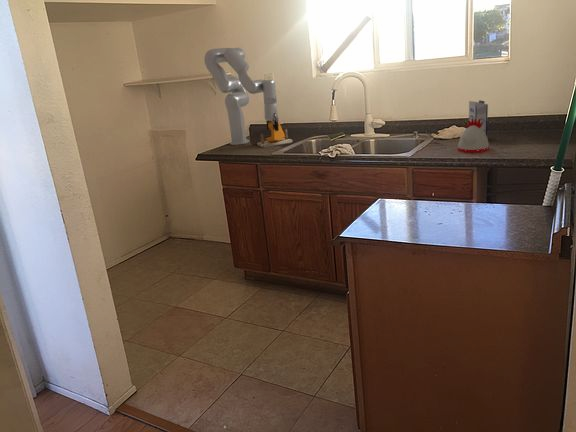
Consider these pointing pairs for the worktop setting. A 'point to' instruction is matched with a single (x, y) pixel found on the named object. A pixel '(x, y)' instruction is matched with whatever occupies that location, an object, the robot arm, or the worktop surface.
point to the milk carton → (479, 113)
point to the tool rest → (267, 144)
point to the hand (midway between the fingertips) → (272, 129)
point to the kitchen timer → (473, 139)
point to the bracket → (275, 133)
